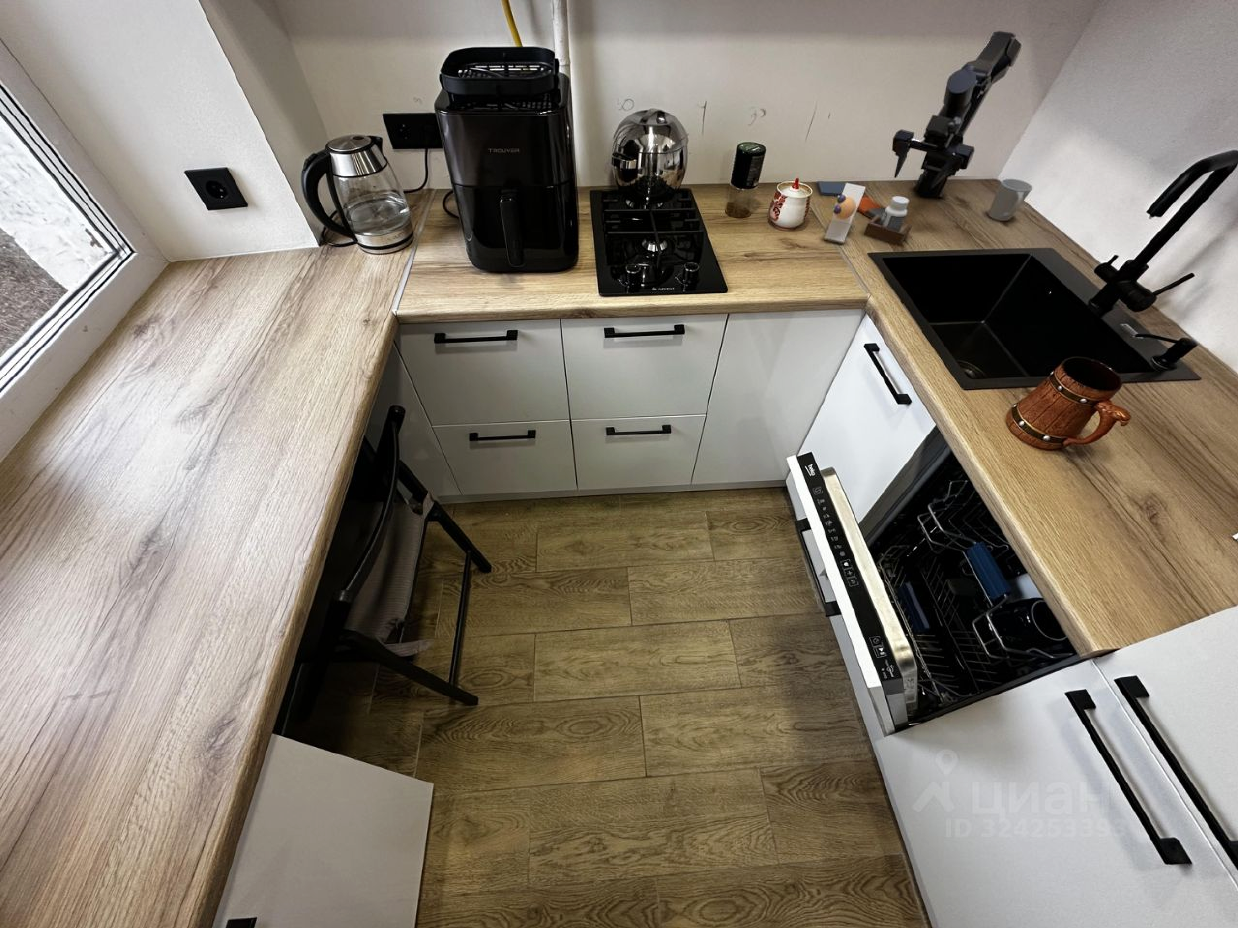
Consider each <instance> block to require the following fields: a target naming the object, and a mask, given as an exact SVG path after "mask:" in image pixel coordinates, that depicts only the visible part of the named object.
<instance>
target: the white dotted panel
mask: <svg viewBox="0 0 1238 928" xmlns="http://www.w3.org/2000/svg"><path fill="white" fill-rule="evenodd" d="M845 183H846V185H845V188H844V190H843V193H842V195H840V196H837V199H836V202H835V204H834V207H833V209H832V218H831V220H830V223H829V226H828V228H827V231H826V233H825V235H824V240H825V241H829V242H833V243H838V244H842V245H844V243H845V240H846V238H847V235H848V233H849V231H850V229H851V226H852V224H853V221H854V219H855V216H856V214H857V211H858V210H857V208H858V206H859V203H860V201H861V198H862V196H863V197H864V193H865V191H866V187H867V186H863V185H860V184H859V185H854V184H849V183H850V182H845Z"/></svg>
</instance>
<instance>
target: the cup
mask: <svg viewBox="0 0 1238 928" xmlns="http://www.w3.org/2000/svg"><path fill="white" fill-rule="evenodd" d="M1032 190H1033V186H1032V184H1030V183H1028V182H1027V181H1025V180H1021V179H1017V178H1004V179H1002V180H1001V182H1000V184H999V186H998V188H997V191H996V193H995V196H994V197H993V200H992V203H991V205H990V208H989V209H988V212H987V215H988V216H989V217H990V218H991V219H993V220H996V221H1001V222H1006V221H1009V220H1011V219H1012V217H1013V216H1014V215H1015V213H1016V212H1017V211H1018V210H1019V208H1020V207H1021V206H1022V204H1023V202H1024V201H1026V199H1027V198H1028V196H1029V194H1030V193H1031V191H1032Z"/></svg>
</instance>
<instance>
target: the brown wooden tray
mask: <svg viewBox="0 0 1238 928" xmlns="http://www.w3.org/2000/svg"><path fill="white" fill-rule="evenodd" d="M880 216H881V215H876V216H875V217H874V218H873V219H871V220H869V221H868V222H867V224H866V227H865V229H864V232H863V235H864V236H868V237H871V238H874V239H877V240H880V241H883V242H886V243H889V244H892V245H896V246H900V245H901V244H902V243H903V242H904V241H905V240H906V239H907V238H908V237H909V234H910V232H911V229H912V228H913V224H909V223H908V224H907V225H906V226H905V227H904V228H903V229H902V230H900V231H897V230H894V229H891V228H888V227H884V226H881V225H879V223H878V221H879V219H880Z"/></svg>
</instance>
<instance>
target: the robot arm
mask: <svg viewBox="0 0 1238 928" xmlns="http://www.w3.org/2000/svg"><path fill="white" fill-rule="evenodd" d="M1016 37H1017V35H1016V34H1014V32H1009V31H1003V30H997V31H993V33H992V35H991V36H990V38H991V39H990V41H989V43H988V44H987V46H986V47H985V48H984V49H983V48H982V49H983V51H982V50H981V51H982V52H981V51H980V54H978V56H977V57H976V58H975V59H974V60H971V61H967V62H966V63H965V64H964V65H962V67H961V68H960V69H958V70H956V71H954V72H953V73H951V75H949V77H948V78H947V80H946V86H945V91H944V95H943V101H942V102H943V103H942V104H943V105H942V107H941V109H940V111H939V112H938V114H937V115H936V114H932V115H931V117H930V119H929V121H928V123H927V125H926V127H925V128H924V133H923V137H922V138H923V140H919V139H915V138H914V137H915V132H914V131H910V130H907V129H899V130H897V131H896V132H895V134H894V136H893V137H892V147H891V151H892V152H893V153H894V155H895V156H896V157H898V158H897V162H896V167H895V172H894V175H893V176H894V177H893V178H894V179H896V178H897V177H898V175H899V174H900V172H901V171H902V168H903V166H904V164H905V162H906V160H907V158H908V153H909V152H910V150H911V149H913V150H917V151H920V152H924V153H925V155H924V157H923V160H922V164H921V166H920V170H922V171H923V172H922V173H921V174H919V176H918V179H917V181H916V184H915V185H914V187H913V189H914V190H915V192H916V194H917V196H918V197H921V198H933V199H934V198H936V199H937V198H938V199H941V198H943V195H942V192H943V189H944V187H945V186H946V183H947V182H948V179H949V178H950V177H954V176H956V174H957V173H958V172H959V171H960V170H963V171H965V170H967V169H968V167H969V166H970V163H972V159H973V157H974V153H975V147H974V146H973V145H969V144H965V143H964V136H965V134H966V132H967V131H968V128H969V127H970V125H971V124H972V122H973V120H974V118H975V117H976V114H977V113H978V111H979V110H980V107H981V106H982V104H983V103H984V100H985V99H986V97H987V96H988V93H989V92H990V90H991V88H992V87H993V86H994V84H995V83H997V82H998V81H1001V80H1002V79H1003V78H1004V77H1005V76H1006V74H1007V73H1008V71H1009V70H1010V68H1013V67H1014V65H1015V64H1016V62H1017V60H1018V58H1017V57H1019V56H1018V54H1019V55H1020V53H1021V51H1022V50H1021V49H1022V43H1021V42H1020V41H1019V40H1017V38H1016ZM1019 52H1020V53H1019ZM1016 59H1017V60H1016ZM1015 61H1016V62H1015ZM1009 67H1010V68H1009Z"/></svg>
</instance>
